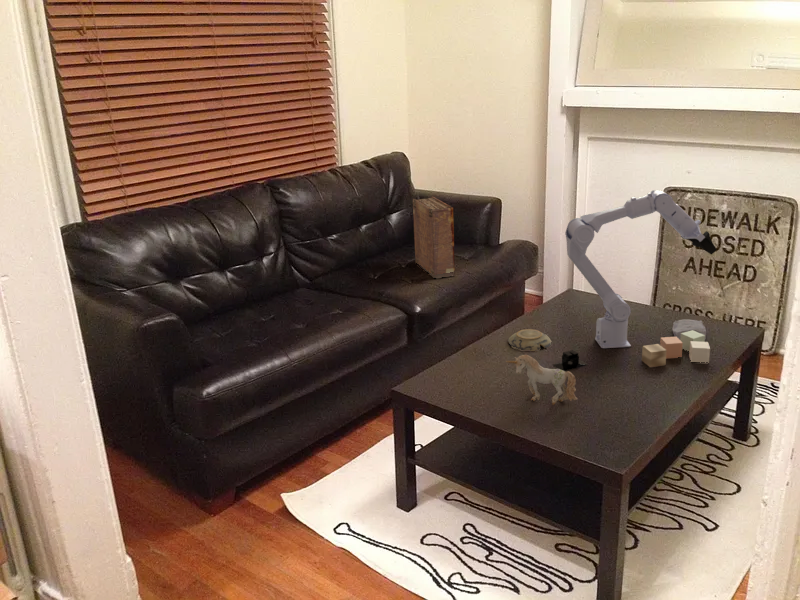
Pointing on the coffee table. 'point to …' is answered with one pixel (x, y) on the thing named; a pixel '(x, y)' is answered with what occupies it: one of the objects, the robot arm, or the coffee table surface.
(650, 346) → the maple cube
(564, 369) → the black boxy device
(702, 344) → the cream cube
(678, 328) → the stone block
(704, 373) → the coffee table surface
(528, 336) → the decorative bowl
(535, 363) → the unicorn figurine
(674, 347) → the terracotta cube
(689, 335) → the sage cube
